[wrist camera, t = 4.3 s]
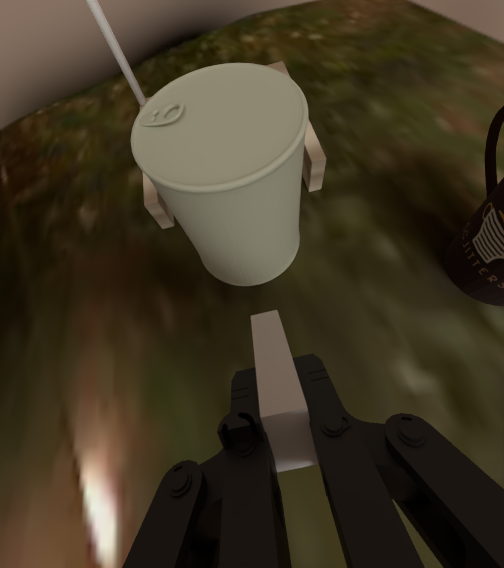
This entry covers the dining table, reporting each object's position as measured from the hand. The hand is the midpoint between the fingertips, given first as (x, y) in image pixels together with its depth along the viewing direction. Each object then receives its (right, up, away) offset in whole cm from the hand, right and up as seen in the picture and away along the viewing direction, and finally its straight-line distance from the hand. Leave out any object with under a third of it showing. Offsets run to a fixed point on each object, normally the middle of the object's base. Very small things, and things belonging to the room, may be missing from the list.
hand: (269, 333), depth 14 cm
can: (-1, +7, +9) cm, 11 cm away
